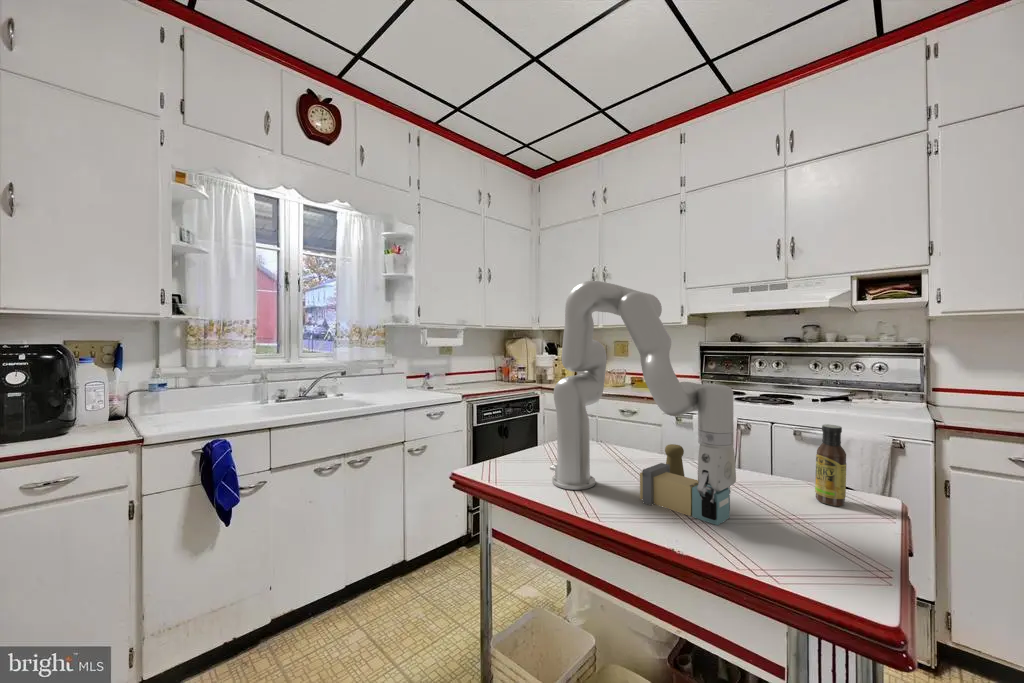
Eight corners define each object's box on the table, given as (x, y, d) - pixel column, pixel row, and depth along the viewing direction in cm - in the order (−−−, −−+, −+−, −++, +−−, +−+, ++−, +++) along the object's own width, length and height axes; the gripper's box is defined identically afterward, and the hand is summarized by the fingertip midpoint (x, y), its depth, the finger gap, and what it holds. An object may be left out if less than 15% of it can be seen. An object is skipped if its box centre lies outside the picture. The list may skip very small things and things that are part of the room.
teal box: (692, 516, 100) (692, 487, 100) (704, 510, 104) (704, 481, 104) (718, 525, 96) (718, 495, 95) (730, 518, 99) (730, 488, 99)
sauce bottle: (809, 498, 111) (809, 423, 110) (829, 497, 112) (829, 422, 112) (831, 508, 104) (831, 428, 104) (853, 506, 105) (852, 427, 105)
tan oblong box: (636, 500, 111) (636, 468, 110) (655, 492, 116) (655, 461, 116) (687, 518, 100) (687, 481, 100) (705, 508, 105) (705, 473, 105)
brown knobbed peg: (681, 478, 127) (681, 442, 127) (688, 485, 121) (688, 447, 121) (661, 478, 128) (661, 442, 127) (666, 485, 122) (666, 447, 121)
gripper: (714, 447, 90) (714, 530, 91) (747, 434, 101) (748, 509, 101) (681, 440, 96) (681, 519, 96) (716, 429, 107) (716, 500, 107)
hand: (715, 513), depth 99 cm, fingers closed on teal box, 6 cm apart
